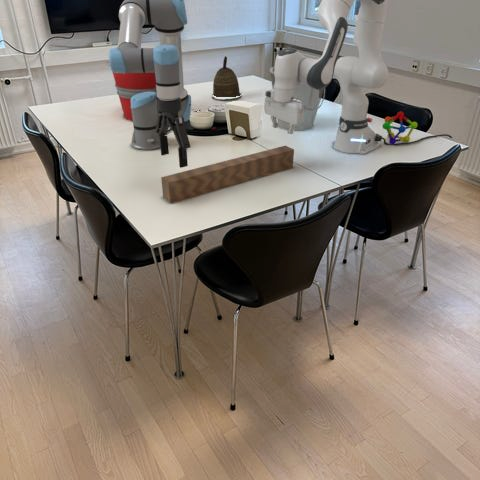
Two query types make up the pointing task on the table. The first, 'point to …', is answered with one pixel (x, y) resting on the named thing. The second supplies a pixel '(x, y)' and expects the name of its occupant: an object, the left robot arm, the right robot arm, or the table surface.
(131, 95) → the bucket
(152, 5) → the left robot arm
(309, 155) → the table surface
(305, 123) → the bucket
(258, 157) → the beam
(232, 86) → the bell
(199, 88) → the table surface
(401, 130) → the educational toy
